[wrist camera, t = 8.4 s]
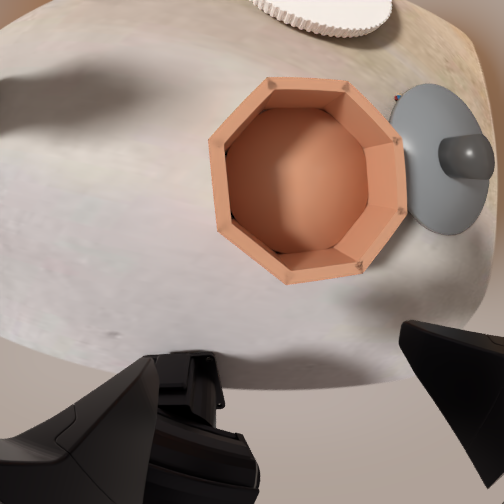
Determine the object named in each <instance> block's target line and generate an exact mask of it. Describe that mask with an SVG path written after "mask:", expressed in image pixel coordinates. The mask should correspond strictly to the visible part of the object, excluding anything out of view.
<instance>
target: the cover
mask: <svg viewBox="0 0 504 504" xmlns="http://www.w3.org/2000/svg"><path fill="white" fill-rule="evenodd" d="M389 123H390V124H391V126H392V127H393V128H394V129H395V130H396V131H397V132H398V134H399V135H400V136H401V137H402V140H403V149H404V159H405V172H406V189H407V210H408V211H409V212H410V214H411V215H412V216H413V217H414V218H415V219H416V220H417V221H418V222H419V223H420V224H421V225H422V226H424V227H425V228H427V229H429V230H431V231H433V232H437V233H440V234H444V235H454V234H458V233H461V232H463V231H464V230H466V229H467V228H469V227H470V226H471V225H472V224H473V223H474V222H475V221H476V219H477V218H478V216H479V215H480V213H481V211H482V209H483V206H484V203H485V201H486V197H487V193H488V187H489V179H490V178H491V176H492V174H493V172H494V166H495V160H494V153H493V149H492V147H491V144H490V142H489V141H488V139H487V138H486V137H485V136H484V135H483V134H482V131H481V129H480V126H479V124H478V122H477V120H476V119H475V117H474V115H473V114H472V112H471V111H470V109H469V108H468V107H467V105H466V104H465V103H464V102H463V101H462V100H461V99H460V98H459V97H458V96H457V95H456V94H454V93H453V92H451V91H450V90H448V89H446V88H444V87H442V86H439V85H436V84H422V85H418V86H415V87H413V88H411V89H409V90H407V91H406V92H405V93H404V94H402V95H401V97H400V98H399V99H398V100H397V102H396V104H395V106H394V108H393V110H392V113H391V116H390V120H389Z"/></svg>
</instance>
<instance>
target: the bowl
mask: <svg viewBox="0 0 504 504" xmlns="http://www.w3.org/2000/svg"><path fill="white" fill-rule="evenodd" d="M263 110H267V111H265V112H263V113H261V112H262V111H263ZM208 143H209V155H210V165H211V176H212V186H213V196H214V205H215V214H216V223H217V232H219V233H220V234H221V235H223V236H224V237H225V238H227V239H228V240H229V241H230V242H232V243H233V244H234V245H235V246H237V247H238V248H239V249H241V250H242V251H243V252H244V253H246V254H247V255H248V256H250V257H251V258H252V259H253V260H255V261H256V262H257V263H258V264H260V265H261V266H262V267H264V268H265V269H266V270H267V271H269V272H270V273H271V274H273V275H274V276H275V277H276V278H278V279H279V280H280V281H282V282H283V283H284V284H285V285H289V284H297V283H304V282H311V281H318V280H324V279H331V278H338V277H344V276H350V275H356V274H363V272H364V271H365V270H366V269H367V267H368V266H369V265H370V264H371V262H372V261H373V260H374V258H375V257H376V256H377V255H378V253H379V252H380V251H381V249H382V248H383V247H384V245H385V244H386V243H387V241H388V240H389V239H390V237H391V236H392V235H393V233H394V232H395V231H396V229H397V228H398V226H399V225H400V224H401V222H402V221H403V219H404V218H405V216H406V215H407V189H406V172H405V159H404V149H403V140H402V137H401V136H400V135H399V134H398V132H397V131H396V130H395V129H394V128H393V127H392V126H391V124H390V123H389V122H388V121H387V120H386V119H385V118H384V117H383V116H382V114H381V113H380V112H379V111H378V110H377V109H376V108H375V107H374V106H373V105H372V104H371V103H370V102H369V101H368V100H367V99H366V98H365V97H364V96H363V95H362V94H361V93H360V92H359V91H358V90H357V89H356V88H355V87H354V86H353V85H352V84H351V83H349V82H348V81H342V80H331V79H318V78H297V77H267V78H266V79H265V80H264V81H263V82H262V83H261V84H260V85H259V86H258V87H257V88H256V89H255V90H254V91H253V92H252V93H251V94H250V95H249V96H248V97H247V98H246V99H245V100H244V101H243V102H242V103H241V104H240V105H239V106H238V107H237V108H236V109H235V111H234V112H233V113H232V114H231V115H230V116H229V117H228V118H227V119H226V120H225V121H224V122H223V124H222V125H221V126H220V127H219V128H218V129H217V130H216V131H215V133H214V134H213V135H212V136H211V137H210V138H209V139H208ZM228 149H229V151H228V153H227V157H226V161H225V153H226V151H227V150H228ZM230 209H231V211H232V213H233V215H234V217H235V219H236V220H237V221H236V220H235V219H234V218H232V217H231V213H230ZM273 250H275V251H278V252H281V253H276V252H275V251H273Z"/></svg>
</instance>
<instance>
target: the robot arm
mask: <svg viewBox="0 0 504 504" xmlns="http://www.w3.org/2000/svg"><path fill="white" fill-rule="evenodd" d="M399 346H400V348H401V350H402V352H403V353H404V355H405V357H406V359H407V360H408V362H409V364H410V366H411V368H412V369H413V371H414V373H415V375H416V376H417V378H418V379H419V380H420V382H421V383H422V385H423V386H424V388H425V389H426V390H427V392H428V393H429V395H430V396H431V398H432V399H433V401H434V402H435V404H436V405H437V407H438V408H439V410H440V411H441V413H442V414H443V416H444V417H445V419H446V420H447V422H448V423H449V425H450V426H451V428H452V430H453V431H454V433H455V434H456V436H457V438H458V439H459V441H460V443H461V444H462V446H463V447H464V449H465V450H466V453H467V454H468V456H469V458H470V459H471V461H472V463H473V465H474V467H475V468H476V470H477V472H478V474H479V475H480V477H481V479H482V481H483V483H484V484H485V486H486V487H487V489H489V488H490V487H491V486H492V485H493V484H494V483H495V482H496V481H497V480H499V479H500V478H501V477H502V476H503V475H504V337H499V336H493V335H486V334H482V333H476V332H470V331H465V330H460V329H455V328H450V327H445V326H440V325H435V324H430V323H426V322H421V321H416V320H408V321H405V322H403V323H402V325H401V330H400V336H399ZM208 357H210V358H212V359H207V358H208ZM219 404H220V405H219ZM224 407H225V401H224V396H223V391H222V387H221V382H220V377H219V373H218V368H217V363H216V358H215V355H214V354H213V353H211V352H204V353H191V354H188V353H179V354H160V355H154V356H143V357H142V358H140V359H138V360H137V361H135V362H134V363H133V364H131V365H130V366H128V367H127V368H125V369H124V370H123V371H121V372H120V373H118V374H117V375H115V376H114V377H112V378H111V379H109V380H108V381H107V382H105V383H104V384H102V385H101V386H99V387H98V388H96V389H95V390H94V391H92V392H90V393H89V394H88V395H86V396H84V397H83V398H81V399H80V400H79V401H77V402H76V403H74V405H73V404H72V405H71V406H69V407H68V408H67V409H65V410H63V411H62V412H60V413H59V414H57V415H55V416H54V417H52V418H50V419H48V420H46V421H45V422H43V423H41V424H39V425H37V426H35V427H33V428H31V429H29V430H27V431H25V432H24V433H21V434H19V435H17V436H15V437H12V438H8V439H0V504H254V502H255V500H256V498H257V496H258V494H259V489H258V488H259V484H260V470H259V466H258V464H257V462H256V460H255V458H254V456H253V454H252V452H251V450H250V448H249V446H248V444H247V442H246V440H245V438H244V436H243V435H242V434H239V433H235V434H234V433H231V432H227V431H224V430H220V429H217V428H216V409H223V408H224ZM502 504H504V502H503V503H502Z"/></svg>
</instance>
